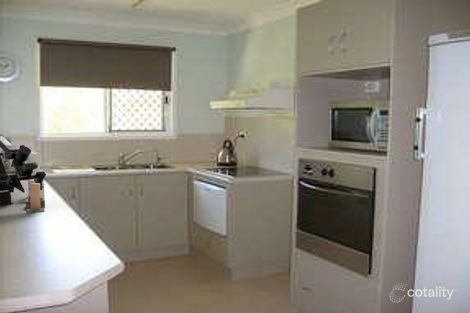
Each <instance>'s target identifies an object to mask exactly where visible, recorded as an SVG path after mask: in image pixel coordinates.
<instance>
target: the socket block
mask: <svg viewBox="0 0 470 313" xmlns="http://www.w3.org/2000/svg"><path fill="white" fill-rule="evenodd" d="M45 201H46V199H45V197H44V198H40V208H44V209H45V208H46V202H45ZM27 209H31V199H29V198H25V210H27Z"/></svg>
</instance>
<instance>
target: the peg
mask: <svg viewBox="0 0 470 313" xmlns="http://www.w3.org/2000/svg"><path fill="white" fill-rule="evenodd" d="M30 196H31V210H40V183H32V184H30Z"/></svg>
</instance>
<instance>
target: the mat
mask: <svg viewBox="0 0 470 313" xmlns="http://www.w3.org/2000/svg"><path fill="white" fill-rule="evenodd" d="M44 212H45V208H40V210H31V209H26V214H31V213H44Z"/></svg>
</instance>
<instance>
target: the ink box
mask: <svg viewBox="0 0 470 313" xmlns="http://www.w3.org/2000/svg"><path fill="white" fill-rule="evenodd" d="M32 183H35V181H34V179H33V180H27V187H28V188H27V189H28V190H27V196H28V195H29V197H28V199H31V196H30V184H32ZM40 198H45V179H44V180H43V181H42V190H40Z"/></svg>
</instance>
